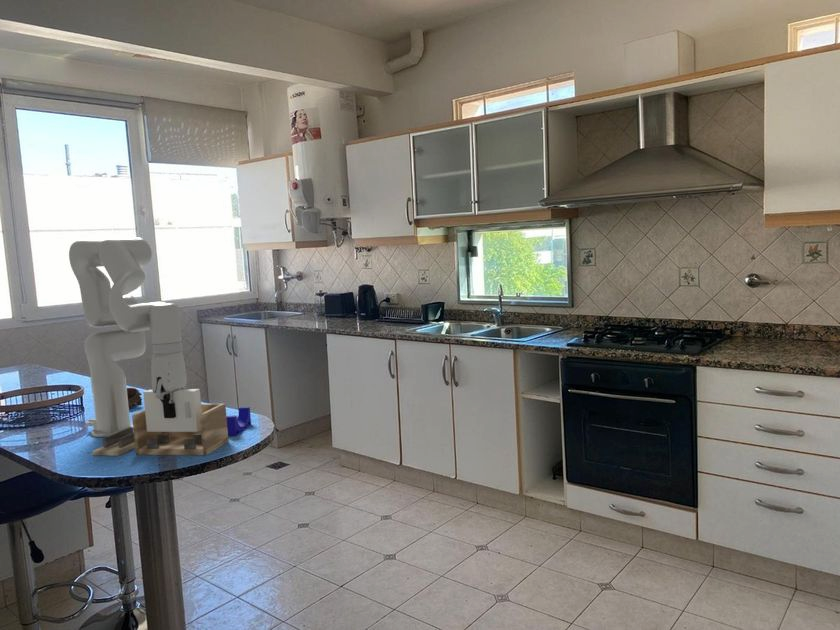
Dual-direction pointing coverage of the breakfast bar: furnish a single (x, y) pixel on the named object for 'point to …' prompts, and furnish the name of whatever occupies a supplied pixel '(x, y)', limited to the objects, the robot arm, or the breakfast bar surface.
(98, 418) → the robot arm
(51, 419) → the breakfast bar surface
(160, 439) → the cabinet
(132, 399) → the pottery mug
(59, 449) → the breakfast bar surface
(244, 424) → the cable clip
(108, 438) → the door stand
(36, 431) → the breakfast bar surface
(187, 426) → the door
